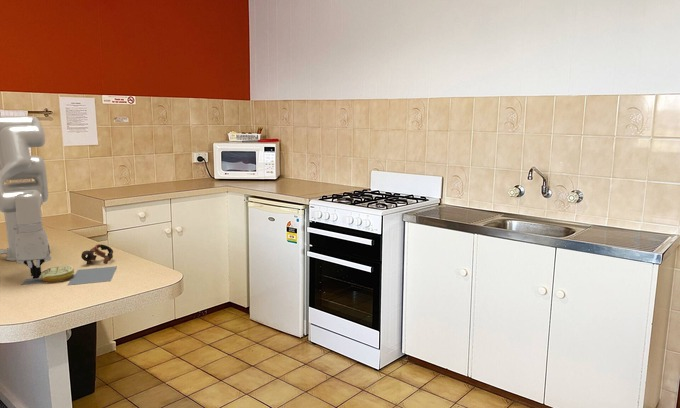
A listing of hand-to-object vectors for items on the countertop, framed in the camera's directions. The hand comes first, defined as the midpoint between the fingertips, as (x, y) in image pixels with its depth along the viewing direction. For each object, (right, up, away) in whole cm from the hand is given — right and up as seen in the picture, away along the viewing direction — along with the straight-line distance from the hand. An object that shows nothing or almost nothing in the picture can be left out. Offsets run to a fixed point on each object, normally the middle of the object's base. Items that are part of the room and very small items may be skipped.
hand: (36, 277), depth 190 cm
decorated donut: (+7, -1, +2) cm, 7 cm away
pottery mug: (+12, +3, +22) cm, 25 cm away
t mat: (+10, 0, +3) cm, 11 cm away
